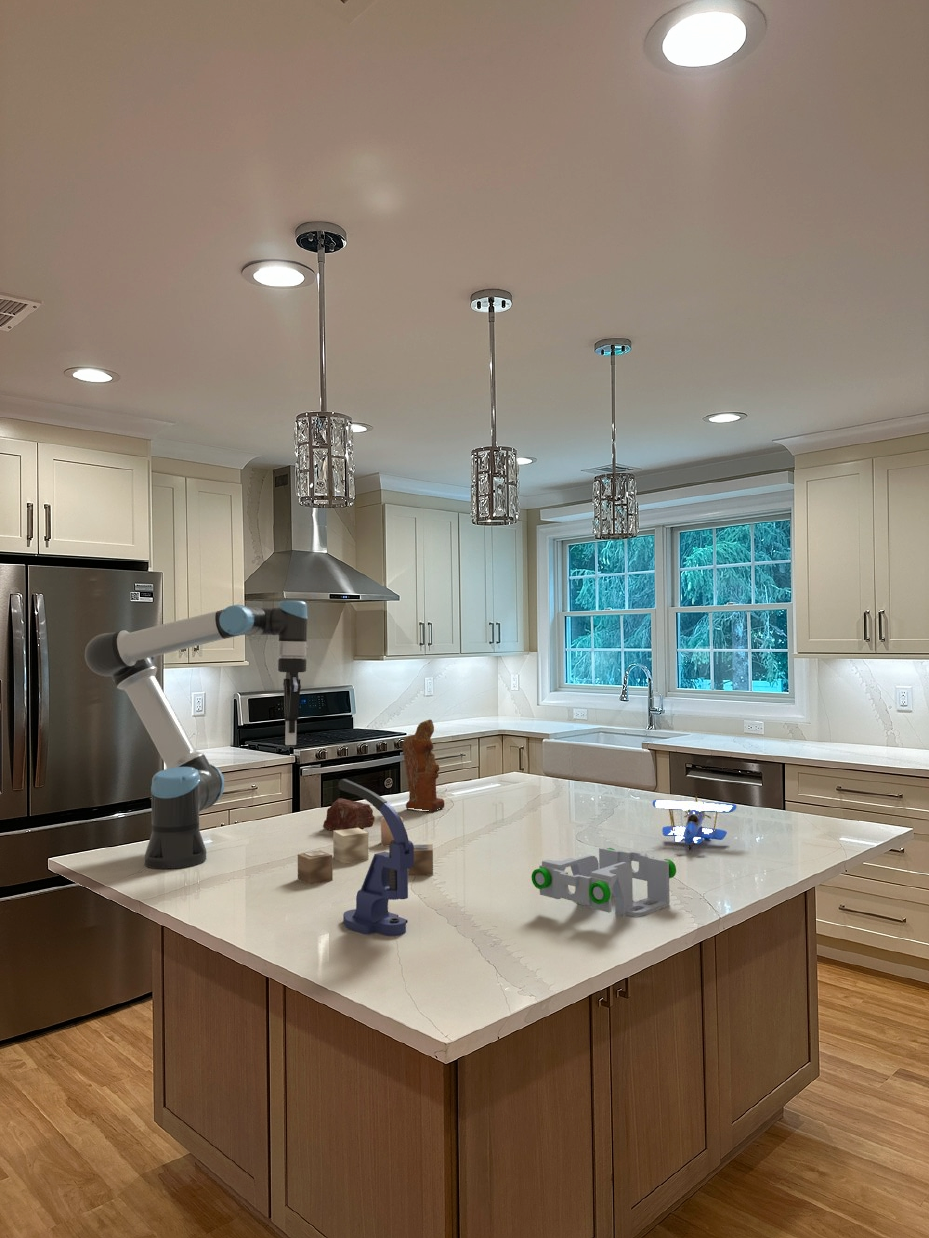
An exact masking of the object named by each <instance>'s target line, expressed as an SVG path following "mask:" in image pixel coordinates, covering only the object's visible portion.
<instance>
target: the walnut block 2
mask: <svg viewBox="0 0 929 1238" xmlns="http://www.w3.org/2000/svg"><path fill="white" fill-rule="evenodd" d="M413 846H414V867H412V868H408V877H409V876H411V877H413V876H434V848H433V847H434V846H433V844H430V843H429V844H428V843H427V844H413Z"/></svg>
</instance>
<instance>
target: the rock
mask: <svg viewBox="0 0 929 1238" xmlns="http://www.w3.org/2000/svg"><path fill="white" fill-rule="evenodd" d="M373 810H374V809H373V808H372V807H371V804H369V803H363V802H360V801H356V800H350V799H346V798H342V797H339V798H337V799H336V800H335V801H334V802H332V804H331V806H330V807H328V808H327V810H326V819H325V820H324V821H323V825H322V828H323V829H326V830H329V831H332V832H333V831H336V830H344V829H353V828H360V829H362V830H364V829H368V828H371V827H373V825H374V822H375V820H376V819H375V818H376V817H375V815H374V813H373V812H374V811H373Z"/></svg>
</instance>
